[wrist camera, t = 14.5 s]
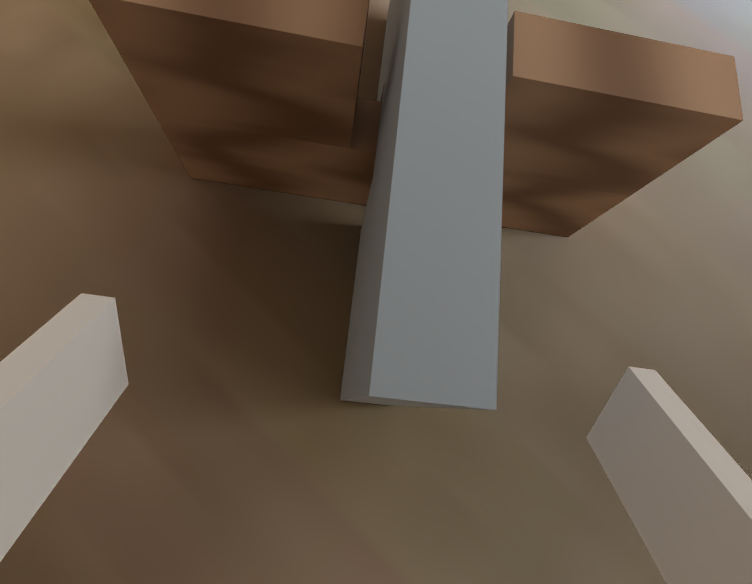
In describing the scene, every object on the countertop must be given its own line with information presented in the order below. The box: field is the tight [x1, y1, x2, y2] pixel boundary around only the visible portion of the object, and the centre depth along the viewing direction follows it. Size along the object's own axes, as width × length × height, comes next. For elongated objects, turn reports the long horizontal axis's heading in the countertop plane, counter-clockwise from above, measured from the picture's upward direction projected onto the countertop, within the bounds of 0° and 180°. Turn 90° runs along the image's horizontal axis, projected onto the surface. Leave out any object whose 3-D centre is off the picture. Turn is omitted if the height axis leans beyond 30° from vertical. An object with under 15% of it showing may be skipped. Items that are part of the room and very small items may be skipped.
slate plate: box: [340, 0, 508, 410], centre depth 17 cm, size 2×22×12 cm, turn 174°
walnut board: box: [89, 0, 743, 237], centre depth 18 cm, size 20×2×10 cm, turn 84°
